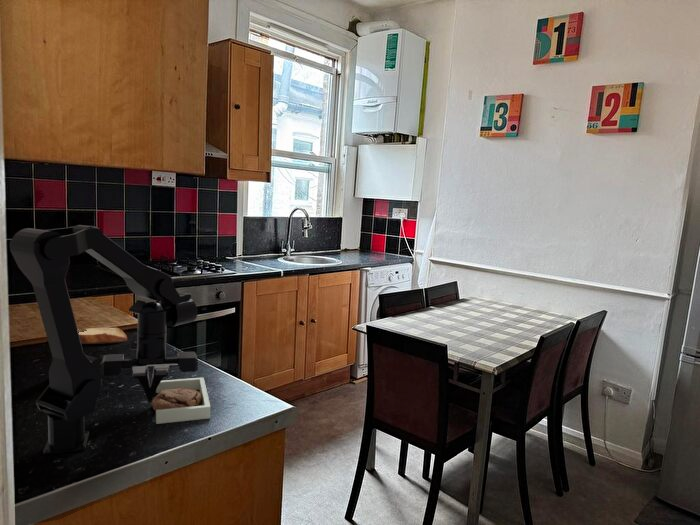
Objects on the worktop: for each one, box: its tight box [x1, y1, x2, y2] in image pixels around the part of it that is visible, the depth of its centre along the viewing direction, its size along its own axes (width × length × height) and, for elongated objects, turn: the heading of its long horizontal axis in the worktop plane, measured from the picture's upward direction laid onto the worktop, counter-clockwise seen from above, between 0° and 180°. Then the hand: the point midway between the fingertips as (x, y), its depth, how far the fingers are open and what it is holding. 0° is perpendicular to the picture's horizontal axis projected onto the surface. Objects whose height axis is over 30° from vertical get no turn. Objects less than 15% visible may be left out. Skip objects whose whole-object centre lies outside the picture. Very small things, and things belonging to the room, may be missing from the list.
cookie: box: [150, 388, 203, 412], centre depth 109 cm, size 10×11×3 cm
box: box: [155, 377, 211, 425], centre depth 110 cm, size 17×10×2 cm, turn 21°
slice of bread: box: [79, 326, 128, 345], centre depth 151 cm, size 18×18×4 cm
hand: (149, 401), depth 107 cm, fingers closed
